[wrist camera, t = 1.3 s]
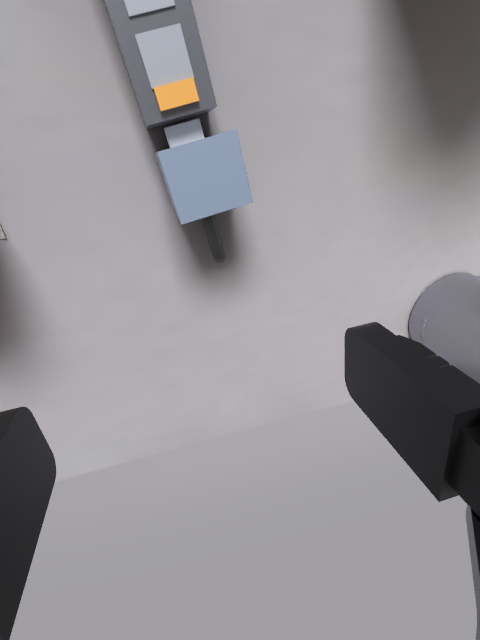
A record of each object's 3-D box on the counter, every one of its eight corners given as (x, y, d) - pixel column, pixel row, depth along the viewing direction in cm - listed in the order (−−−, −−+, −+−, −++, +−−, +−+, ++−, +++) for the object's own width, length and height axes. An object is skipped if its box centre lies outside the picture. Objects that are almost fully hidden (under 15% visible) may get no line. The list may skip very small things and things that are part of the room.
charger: (209, 116, 25) (230, 104, 19) (243, 250, 30) (269, 275, 23) (148, 134, 24) (149, 127, 18) (192, 267, 29) (205, 297, 23)
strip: (145, -133, 19) (145, -196, 16) (208, 112, 25) (218, 105, 21) (64, -117, 19) (45, -178, 15) (146, 129, 24) (146, 125, 21)
